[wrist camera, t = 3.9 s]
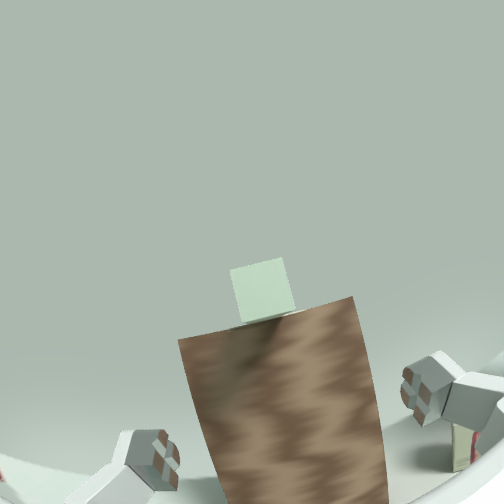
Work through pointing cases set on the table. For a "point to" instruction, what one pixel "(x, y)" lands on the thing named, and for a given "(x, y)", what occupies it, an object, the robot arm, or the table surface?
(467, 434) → the small box
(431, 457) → the table surface
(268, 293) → the bar
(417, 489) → the table surface
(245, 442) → the stand
